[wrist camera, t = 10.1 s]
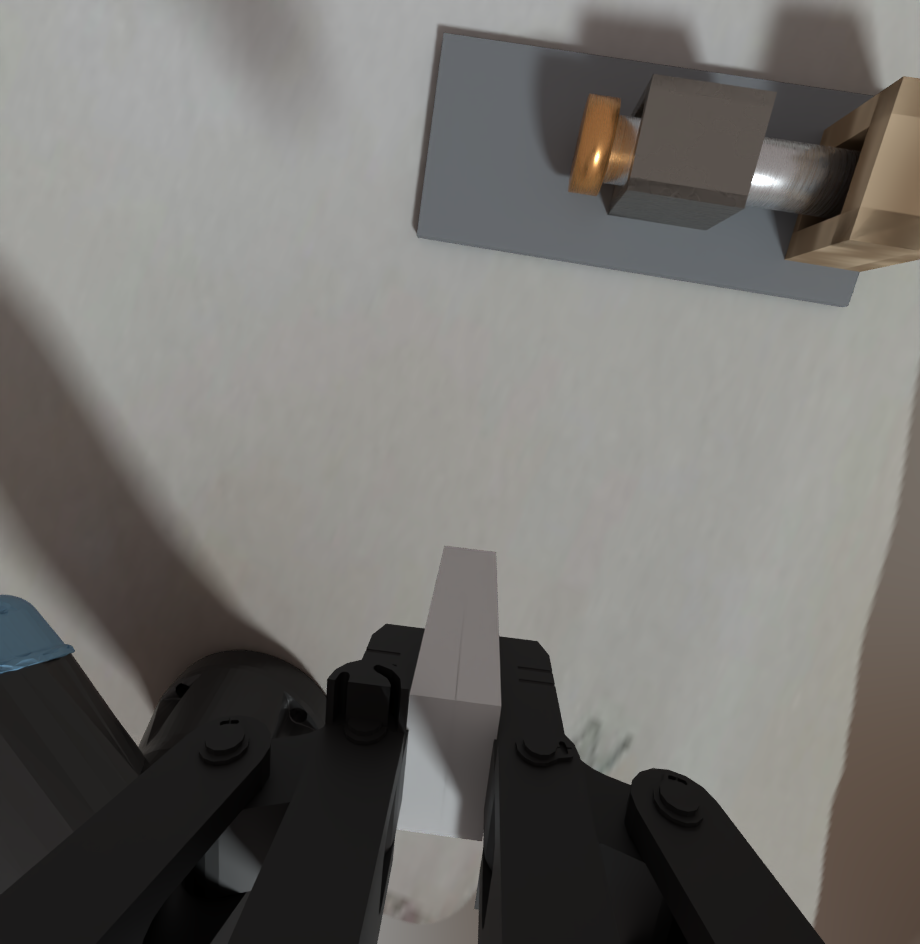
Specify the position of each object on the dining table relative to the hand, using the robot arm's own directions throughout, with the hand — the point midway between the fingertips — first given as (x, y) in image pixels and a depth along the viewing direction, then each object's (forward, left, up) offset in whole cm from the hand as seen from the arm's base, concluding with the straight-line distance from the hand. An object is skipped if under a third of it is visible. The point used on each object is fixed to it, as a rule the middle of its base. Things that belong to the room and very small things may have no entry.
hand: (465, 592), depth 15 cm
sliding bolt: (+10, +18, -21) cm, 30 cm away
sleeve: (+8, +18, -22) cm, 29 cm away
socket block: (+18, +18, -22) cm, 34 cm away
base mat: (+7, +18, -22) cm, 29 cm away
